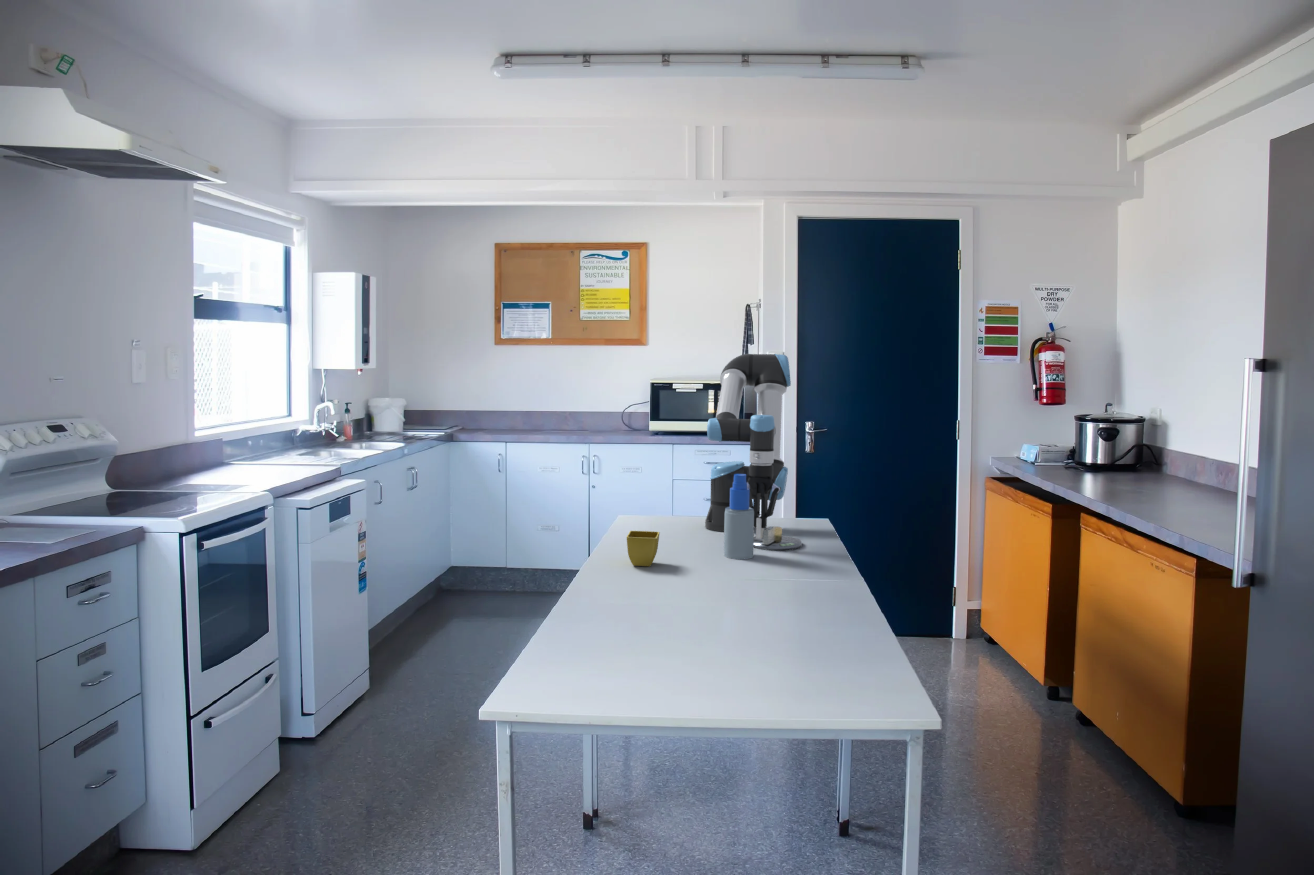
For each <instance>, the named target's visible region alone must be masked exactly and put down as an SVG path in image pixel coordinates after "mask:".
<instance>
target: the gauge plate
mask: <svg viewBox="0 0 1314 875" xmlns="http://www.w3.org/2000/svg"><path fill="white" fill-rule="evenodd" d="M754 548H755V549H758V550H762V551H763V550H764V551H772V552H773V551H774V552H775V551H776V552H778V551H780V552H781V551H782V552H784V551H785V552H786V551H794V550H798V549H801V548H802V541H801V540H800V539H799V538H796V537H793V536H787V535H782V541H778V542H772V543H770V544H763V538H761V539H758V538H756V535H754V547H753V549H754Z"/></svg>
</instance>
